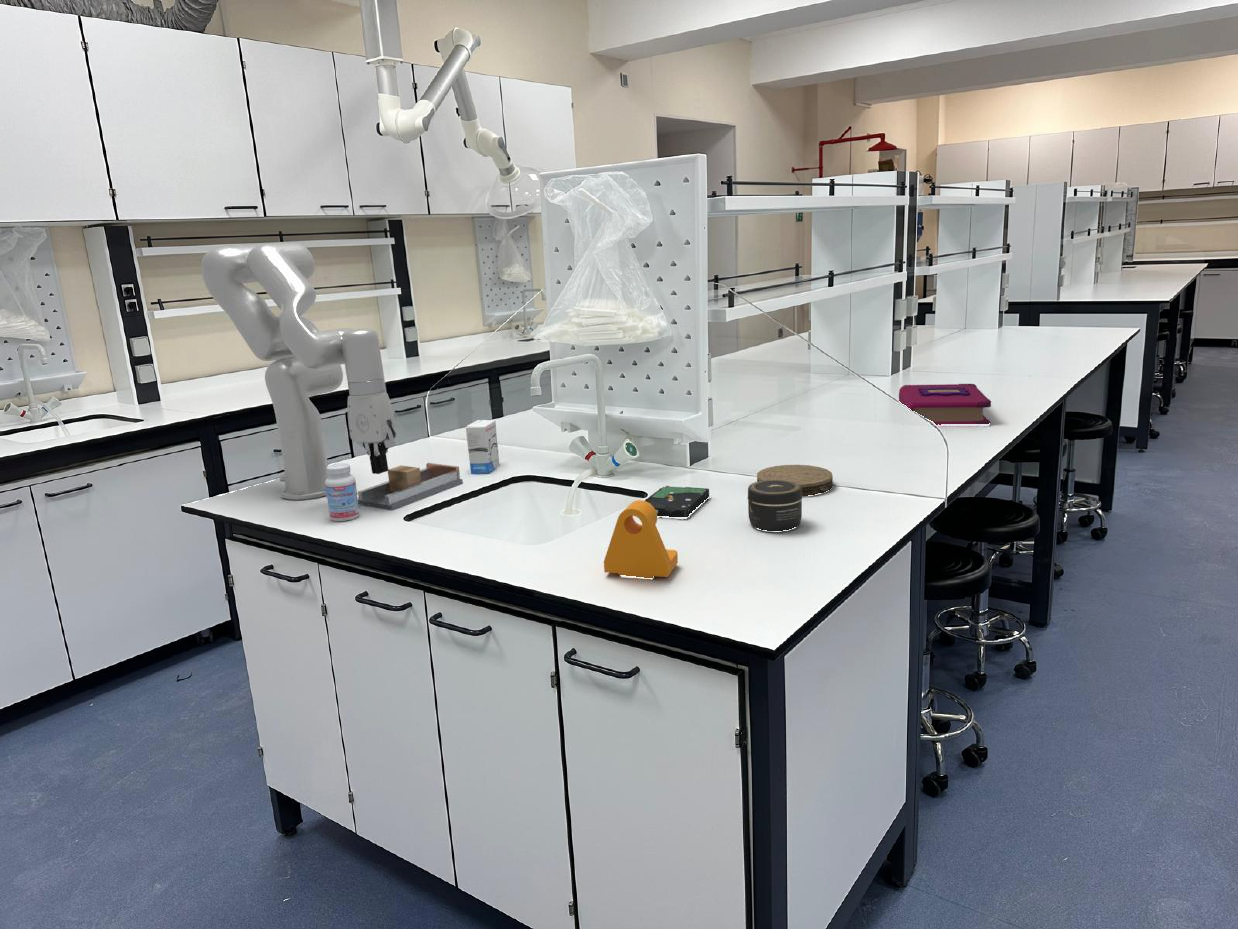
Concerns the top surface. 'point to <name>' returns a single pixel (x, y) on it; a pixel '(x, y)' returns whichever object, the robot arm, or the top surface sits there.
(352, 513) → the pill bottle
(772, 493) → the jar
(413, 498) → the chute
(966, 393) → the book
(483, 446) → the ink box
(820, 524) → the top surface
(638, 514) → the bracket
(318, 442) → the robot arm
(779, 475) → the cork trivet
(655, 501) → the disk drive
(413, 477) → the block
